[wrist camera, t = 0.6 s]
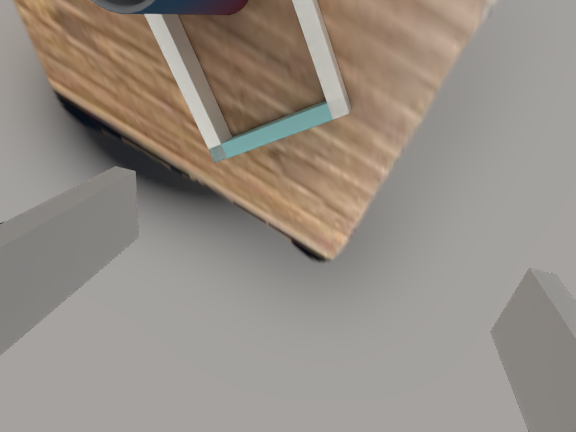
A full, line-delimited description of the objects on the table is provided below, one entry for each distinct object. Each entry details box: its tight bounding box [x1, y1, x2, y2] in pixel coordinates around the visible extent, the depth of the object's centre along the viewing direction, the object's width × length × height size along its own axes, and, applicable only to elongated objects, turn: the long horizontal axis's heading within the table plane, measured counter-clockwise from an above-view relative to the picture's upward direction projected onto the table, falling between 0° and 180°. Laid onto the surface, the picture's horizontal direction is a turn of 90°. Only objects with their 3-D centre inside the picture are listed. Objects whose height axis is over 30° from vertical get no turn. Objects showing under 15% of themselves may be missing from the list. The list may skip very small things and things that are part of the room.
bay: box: [144, 0, 352, 163], centre depth 31 cm, size 18×14×3 cm
